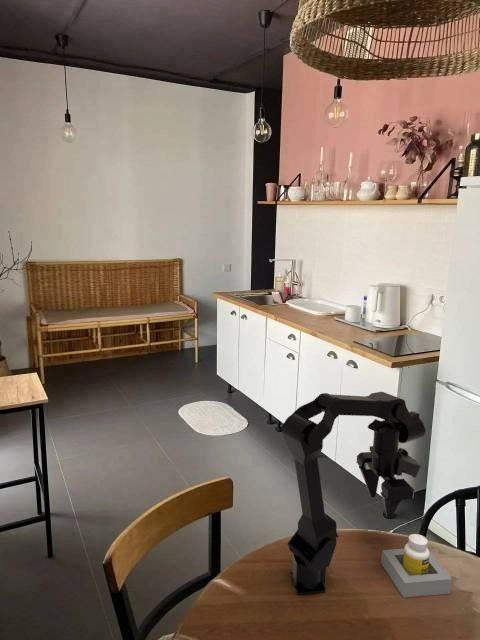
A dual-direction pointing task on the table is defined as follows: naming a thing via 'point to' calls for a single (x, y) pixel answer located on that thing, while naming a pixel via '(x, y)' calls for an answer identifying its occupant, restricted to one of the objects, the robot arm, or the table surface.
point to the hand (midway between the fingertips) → (380, 507)
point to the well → (416, 576)
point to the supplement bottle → (416, 555)
